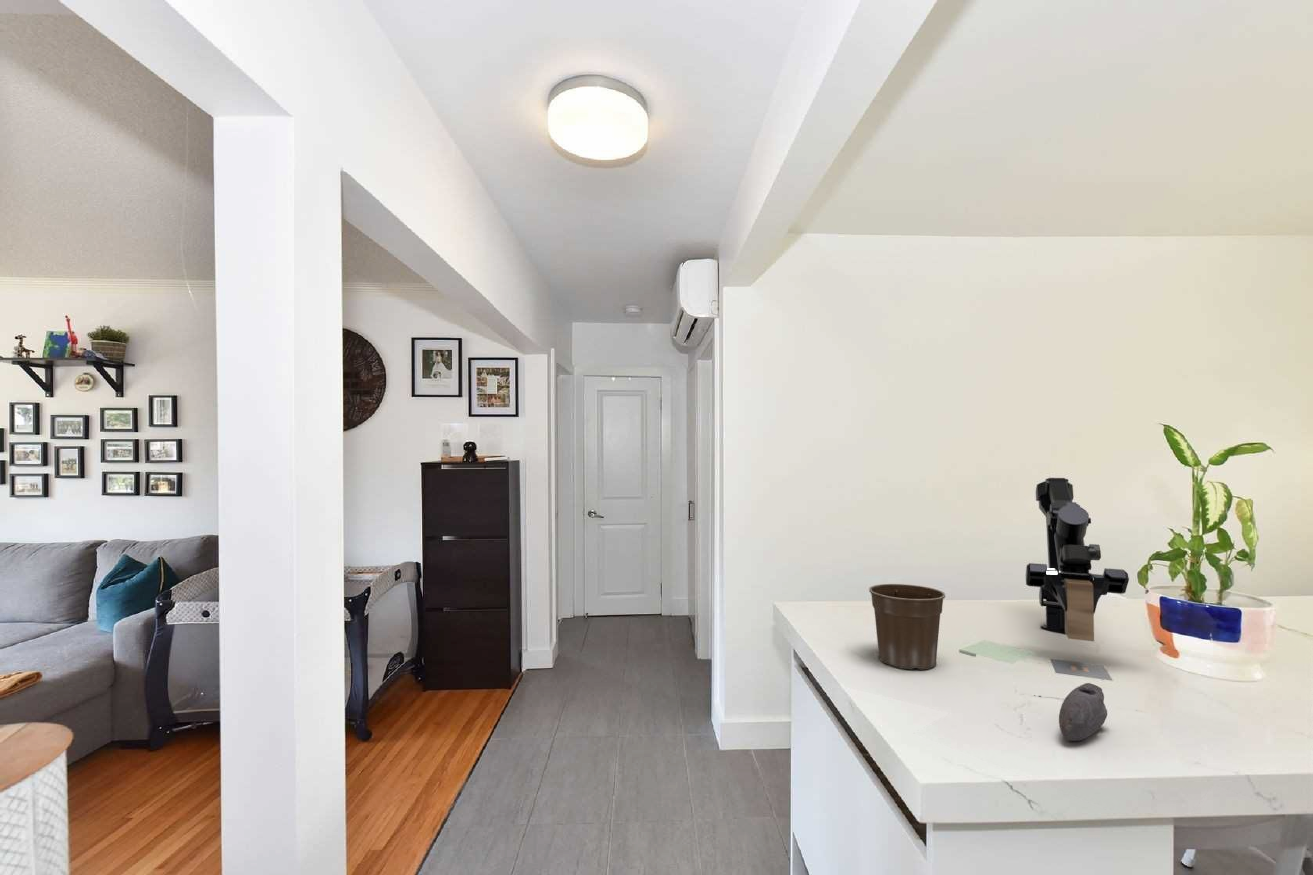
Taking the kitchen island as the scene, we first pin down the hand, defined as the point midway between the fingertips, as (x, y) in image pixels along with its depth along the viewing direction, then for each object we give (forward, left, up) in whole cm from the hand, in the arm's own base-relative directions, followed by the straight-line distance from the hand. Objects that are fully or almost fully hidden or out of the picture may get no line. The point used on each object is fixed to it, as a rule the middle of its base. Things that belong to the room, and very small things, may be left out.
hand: (1079, 611), depth 132 cm
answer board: (+2, -17, -13) cm, 22 cm away
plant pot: (+24, -26, -14) cm, 38 cm away
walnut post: (-1, -1, -6) cm, 6 cm away
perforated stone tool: (+31, +12, -14) cm, 36 cm away
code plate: (-1, -1, -13) cm, 13 cm away
